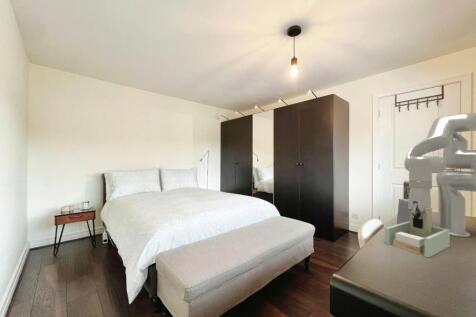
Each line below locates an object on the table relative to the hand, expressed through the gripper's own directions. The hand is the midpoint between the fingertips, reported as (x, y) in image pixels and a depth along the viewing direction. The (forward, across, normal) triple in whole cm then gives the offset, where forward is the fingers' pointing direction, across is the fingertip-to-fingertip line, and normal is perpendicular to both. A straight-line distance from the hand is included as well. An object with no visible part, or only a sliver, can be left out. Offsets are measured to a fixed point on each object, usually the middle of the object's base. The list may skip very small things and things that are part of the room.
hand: (420, 226), depth 90 cm
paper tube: (+9, -28, -14) cm, 32 cm away
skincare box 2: (+4, 0, 0) cm, 4 cm away
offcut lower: (+8, +11, 0) cm, 14 cm away
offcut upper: (+5, +11, 0) cm, 12 cm away
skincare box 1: (+8, -18, -10) cm, 22 cm away
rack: (+8, +3, 0) cm, 8 cm away
